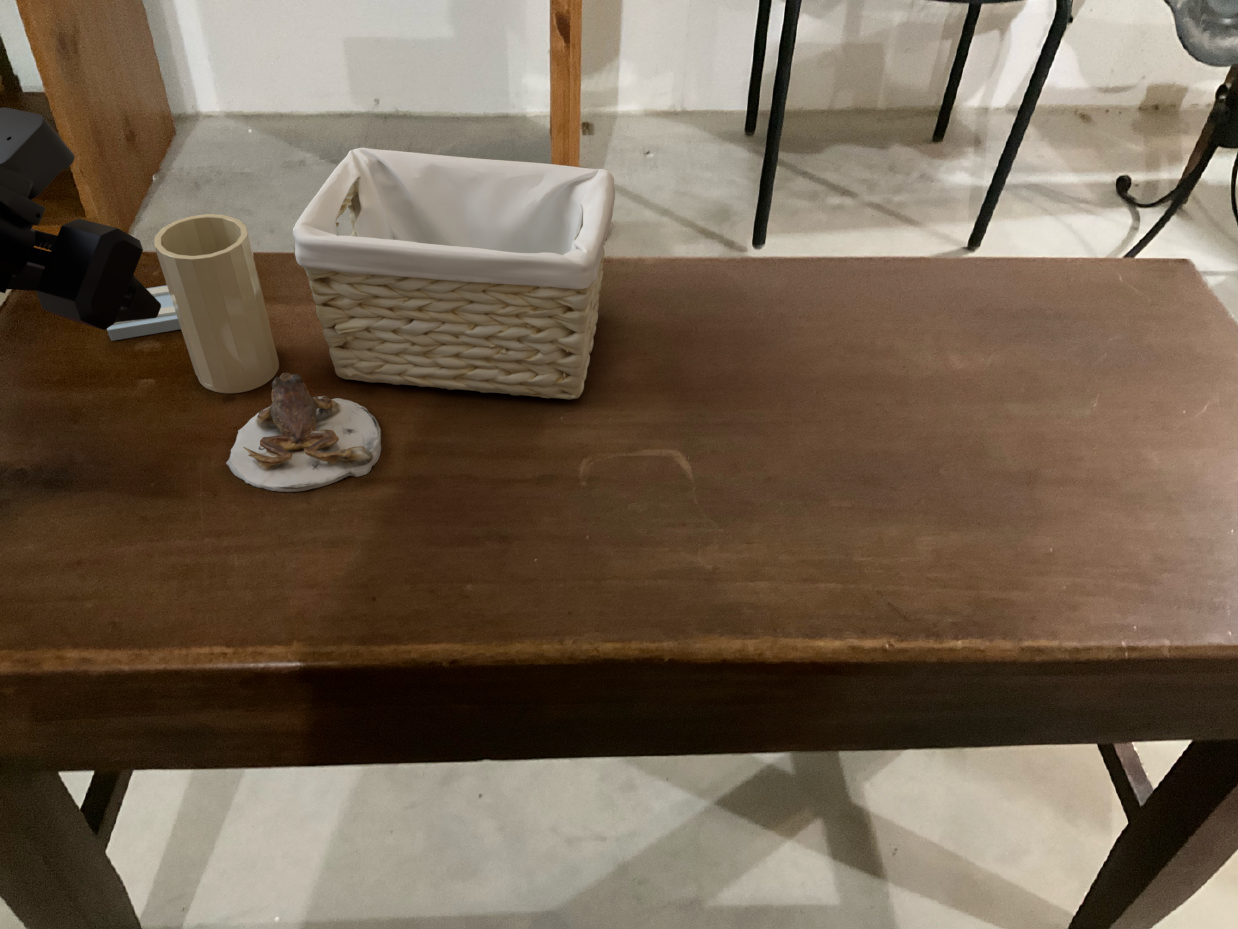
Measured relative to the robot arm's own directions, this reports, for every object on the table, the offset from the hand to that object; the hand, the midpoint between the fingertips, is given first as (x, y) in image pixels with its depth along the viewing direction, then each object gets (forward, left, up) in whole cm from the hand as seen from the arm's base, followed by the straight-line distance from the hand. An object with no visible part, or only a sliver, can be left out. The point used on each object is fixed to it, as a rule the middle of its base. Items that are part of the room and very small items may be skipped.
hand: (110, 297), depth 70 cm
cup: (+7, +4, -11) cm, 14 cm away
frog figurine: (+11, -7, -12) cm, 17 cm away
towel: (+2, +15, -11) cm, 19 cm away
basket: (+27, +1, -12) cm, 29 cm away
